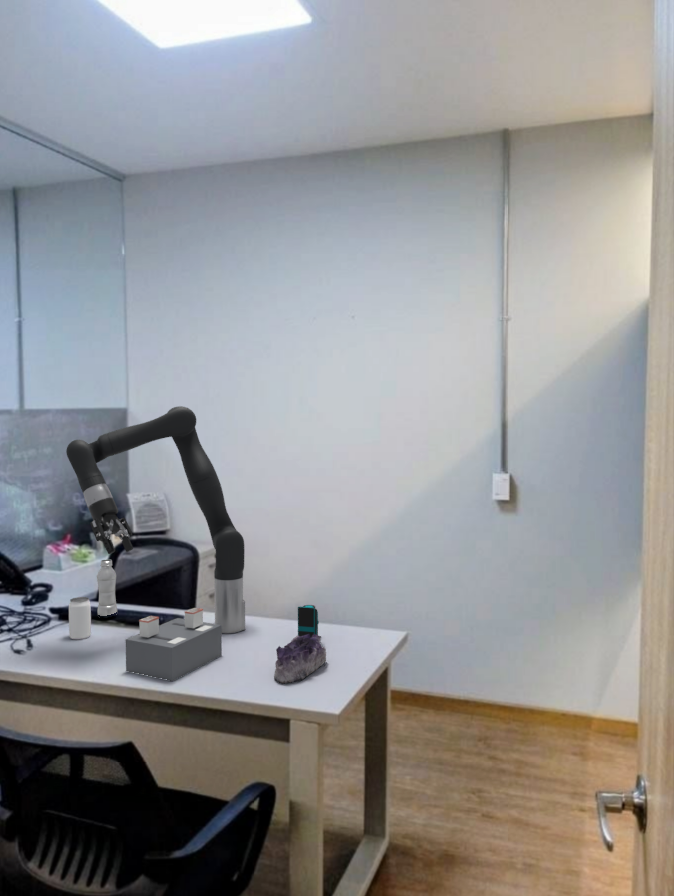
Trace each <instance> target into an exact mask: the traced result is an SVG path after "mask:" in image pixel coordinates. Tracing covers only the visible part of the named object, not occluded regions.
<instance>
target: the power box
mask: <svg viewBox="0 0 674 896" xmlns="http://www.w3.org/2000/svg"><path fill="white" fill-rule="evenodd" d="M222 635H223V633H221V625H218V624H215V623H211V622H205V621H203V624H202V625H200V626H198V627H196V628H188V627H185V618H180V617H177V618H174V619H171V620H169V621H167V622H164V623H162V624H159V633H158V634H156V635H153V636H151V637H148V638H147V637H142V636H140V633H137V634H134V635H132V636H130V637H127V638H125V672H126V671H129V672H128V673H130V672H134V673H133V674H135V673H139V674H138V675H140V674H144V675H148V676H147V677H149V676H152V677H151V678H154V677H156V678H155V679H159V678H162V679H161V680H163V679H167V680H166V681H168V680H171V681H170V682H174V681H176V680H178V679H180V678H182V677H183V675H184V676H186V675H187V673H188V674H189V673H191V672H193V671H195V670H197V669H199V668H201V667H202V666H204V665H207V664H208V663H210V662H212V661H214V660H216V659H219V657H222V654H223V653H222V651H223V650H222V649H223V647H222V646H223V645H222V642H223V641H222V639H223V638H222ZM185 674H186V675H185ZM144 675H143V676H144ZM181 676H182V677H181ZM179 677H180V678H179ZM177 678H178V679H177ZM175 679H176V680H175ZM173 680H174V681H173Z"/></svg>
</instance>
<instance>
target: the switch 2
mask: <svg viewBox="0 0 674 896" xmlns="http://www.w3.org/2000/svg"><path fill="white" fill-rule="evenodd" d="M203 614H204V608H200V607H192V608H189V609H186V610H184V619H185V627H188V628H196V627H198V626H200V625H202V624H203V622H204V616H203Z"/></svg>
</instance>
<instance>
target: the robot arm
mask: <svg viewBox="0 0 674 896" xmlns="http://www.w3.org/2000/svg"><path fill="white" fill-rule="evenodd" d="M196 425H197V417H196V414H195V412H194V411H193V410H192V409H190V408H189V407H186V406H181V405H179V406H174V407H172V408H170V409H169V410H168V411H167V413H165V414H163V415H161V416H159V417H157V418H154V419H151V420H149V421H148V420H147V421H146V422H142V423H138V424H134V425H130V426H125V427H123V428H119V429H118V428H117V429H115V430H113V431H109V432H106V433H103V434H101V435H99V436H98V438H97V440H95V441H92V442H90V443H88V442H87V441H85V440H83V439H75V440H72V441H70V442H69V443H68V445H67V447H66V450H65V451H66V452H65V453H66V456H67V459H68V461H69V463H70V465H71V467H72V469H73V471H74V473H75V475H76V478H77V481H78V485H79V486H80V490H81V492H82V494H83V497H84V501H85V504H86V507H87V508H88V511H89V513H90V516H91V517H92V518H91V519H92V521H91V522H90V523H89V524H90V526H91V530H92V532H93V535H94V538H95V540H96V541H97V542H99V541H100V542H101V544H103V546H104V548H105V550H106V552H107V554H108V555H111V554H113V553H115V552H116V548H115V546H114V544H113V541H112V539H111V535H114V536H115V537H118V538H119V539H120V540H121V543H122V546H123V548H124V550H125V552H127V553H128V552H130V551H133V549H134V546H133V544H132V542H131V540H130V537H131V536H133V532H132V530H131V527H130V526H129V523H128V521H127V519H126V517H122V518H118V516H117V515H118V512H119V509H118V507H117V504H116V502H115V500H114V497H113V495H112V493H111V490H110V488H109V487H108V485H107V482H106V481H105V479H104V476H103V474H102V472H101V470H100V469H99V467H98V463H100V462H101V461H104V460H105V459H107V458H109V457H112V456H115V455H118V454H122V453H125V452H127V451H131V450H133V449H136V448H138V447H141V446H143V445H145V444H148V443H151V442H155V441H159V440H163V439H166V438H170V437H171V439H172V440H173V442H174V445H175V446H176V448H177V450H178V453H179V455H180V460H181V462H182V466H183V469H184V473H185V476H186V478H187V481H188V484H189V487H190V489H191V491H192V495H193V497H194V498H195V501H196V503H197V505H198V507H199V508H200V510H201V512H202V515H203V516H204V518H205V521H206V523H207V527H208V531H209V533H210V537H211V541H212V544H213V546H212V547H214V550H215V567H214V571H213V577H214V578H213V580H214V584H213V585H214V624H218V625H221V633H222V634H235V633H239V632H241V631H245V630H246V601H245V600H244V570H245V540H244V537H243V535H242V534H241V533H240V532H239V531H238V530H237V528H236V527H235V524H233V521H232V520H231V517H230V515H229V513H228V509H227V508H226V507H227V506H226V502H225V497H224V492H223V488H222V484H221V482H220V479H219V476H218V474H217V471H216V469H215V467H214V464H213V463H212V461H211V459H210V458H209V456H208V454H207V453H206V451H205V450H204V448H203V446H202V444H201V442H200V439H199V435H198V433H197V429H196Z"/></svg>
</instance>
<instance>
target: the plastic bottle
mask: <svg viewBox="0 0 674 896" xmlns="http://www.w3.org/2000/svg"><path fill="white" fill-rule="evenodd" d="M112 566H113V560H112V559H110V558H109V559H106V558H105V559H101V560H100V569H99V570H98V572H97V574H96V582H97V588H98V605H97V616H98V615H100V616H107V615H111V614H114V613H116V612H117V613H118V605H117V601H116V600H117V599H116V582H117V573H116V571H115V569H114V568H113V567H112Z"/></svg>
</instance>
